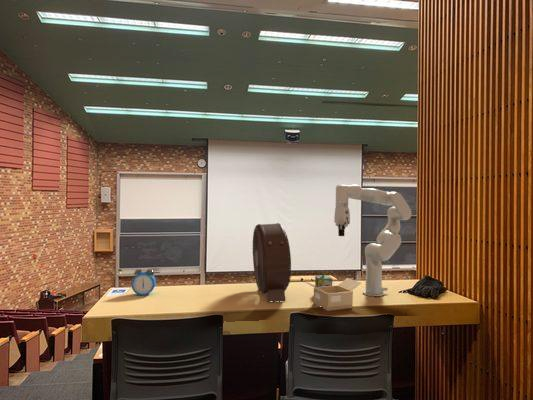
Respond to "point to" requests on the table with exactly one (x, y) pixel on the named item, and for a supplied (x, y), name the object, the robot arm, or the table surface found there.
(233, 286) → the table surface
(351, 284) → the flap
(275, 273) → the fan
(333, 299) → the carton
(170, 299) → the table surface
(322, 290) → the flap
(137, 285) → the alarm clock
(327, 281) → the chalk box
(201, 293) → the table surface
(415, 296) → the table surface
